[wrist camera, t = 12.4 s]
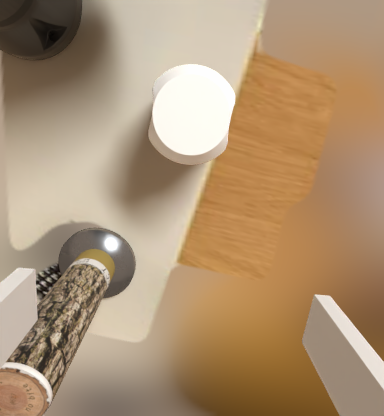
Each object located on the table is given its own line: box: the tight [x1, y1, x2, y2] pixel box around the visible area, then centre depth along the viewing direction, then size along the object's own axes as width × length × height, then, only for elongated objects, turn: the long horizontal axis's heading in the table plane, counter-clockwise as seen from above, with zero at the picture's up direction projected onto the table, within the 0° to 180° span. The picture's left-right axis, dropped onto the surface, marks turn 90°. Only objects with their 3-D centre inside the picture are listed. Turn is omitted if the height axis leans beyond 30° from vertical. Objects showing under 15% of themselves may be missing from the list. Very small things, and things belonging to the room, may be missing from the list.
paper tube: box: [0, 249, 115, 416], centre depth 38 cm, size 7×7×25 cm
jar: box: [148, 64, 235, 165], centre depth 37 cm, size 12×10×15 cm
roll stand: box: [59, 228, 136, 298], centre depth 44 cm, size 13×13×14 cm
